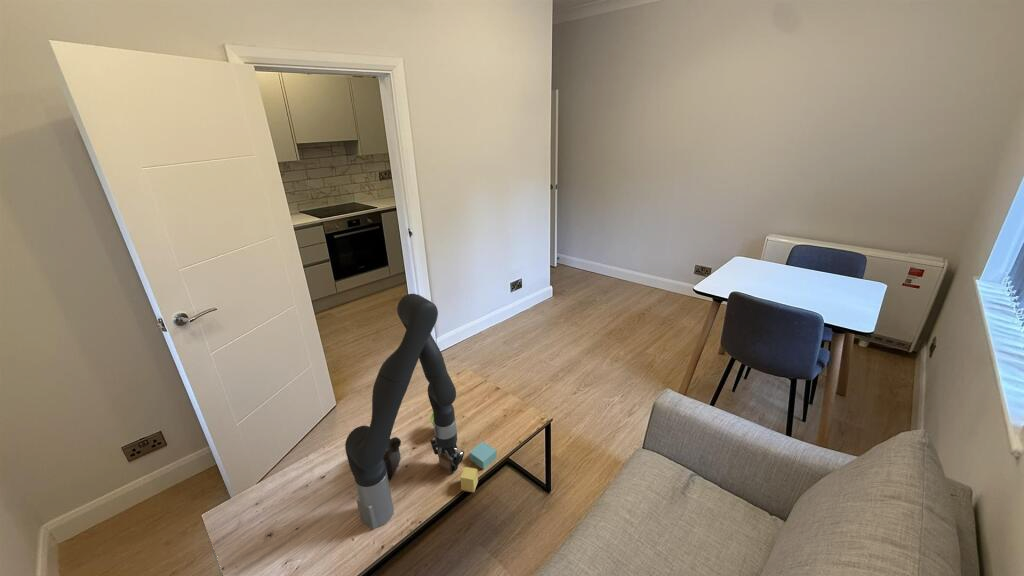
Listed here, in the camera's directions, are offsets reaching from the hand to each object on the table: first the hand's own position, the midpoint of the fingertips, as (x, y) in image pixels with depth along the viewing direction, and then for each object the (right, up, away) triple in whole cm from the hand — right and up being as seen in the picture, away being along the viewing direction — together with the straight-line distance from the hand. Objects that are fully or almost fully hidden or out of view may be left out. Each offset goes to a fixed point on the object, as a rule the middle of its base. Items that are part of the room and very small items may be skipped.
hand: (448, 466), depth 147 cm
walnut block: (0, -1, 0) cm, 1 cm away
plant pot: (-4, +6, +16) cm, 18 cm away
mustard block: (+8, -4, -7) cm, 11 cm away
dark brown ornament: (-22, -1, 0) cm, 22 cm away
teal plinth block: (+12, +1, +4) cm, 13 cm away
